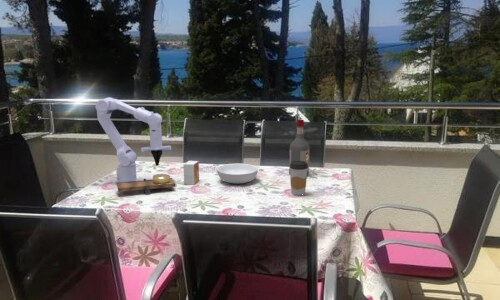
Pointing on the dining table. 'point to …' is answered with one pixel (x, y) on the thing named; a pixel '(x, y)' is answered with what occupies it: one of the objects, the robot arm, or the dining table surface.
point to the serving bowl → (237, 172)
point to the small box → (191, 172)
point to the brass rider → (161, 179)
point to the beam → (142, 185)
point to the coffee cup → (298, 177)
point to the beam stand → (147, 189)
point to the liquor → (299, 147)
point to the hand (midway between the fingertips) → (157, 165)
